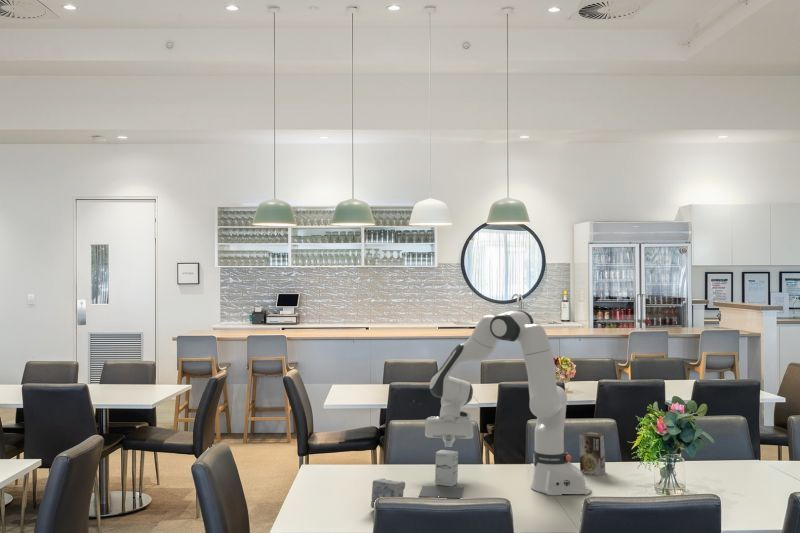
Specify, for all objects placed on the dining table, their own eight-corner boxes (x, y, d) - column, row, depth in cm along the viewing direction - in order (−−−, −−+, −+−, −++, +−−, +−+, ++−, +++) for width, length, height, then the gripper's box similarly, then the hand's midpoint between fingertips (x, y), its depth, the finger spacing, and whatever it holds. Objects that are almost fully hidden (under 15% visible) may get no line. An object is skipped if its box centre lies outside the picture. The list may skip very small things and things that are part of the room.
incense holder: (405, 508, 252) (405, 478, 252) (395, 515, 244) (394, 485, 245) (381, 504, 256) (381, 475, 257) (370, 511, 249) (370, 481, 249)
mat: (463, 488, 274) (463, 487, 274) (461, 498, 262) (461, 497, 262) (422, 486, 277) (422, 485, 277) (418, 497, 264) (418, 496, 264)
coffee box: (605, 472, 295) (605, 433, 295) (601, 476, 289) (600, 436, 290) (584, 469, 300) (583, 431, 300) (579, 473, 294) (578, 434, 294)
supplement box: (434, 485, 277) (434, 452, 278) (440, 481, 284) (440, 449, 285) (452, 487, 275) (452, 454, 275) (458, 483, 281) (458, 450, 282)
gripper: (425, 412, 300) (422, 441, 290) (473, 413, 297) (472, 442, 287) (426, 420, 304) (423, 449, 294) (474, 422, 301) (473, 451, 291)
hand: (448, 446), depth 290 cm, fingers closed
